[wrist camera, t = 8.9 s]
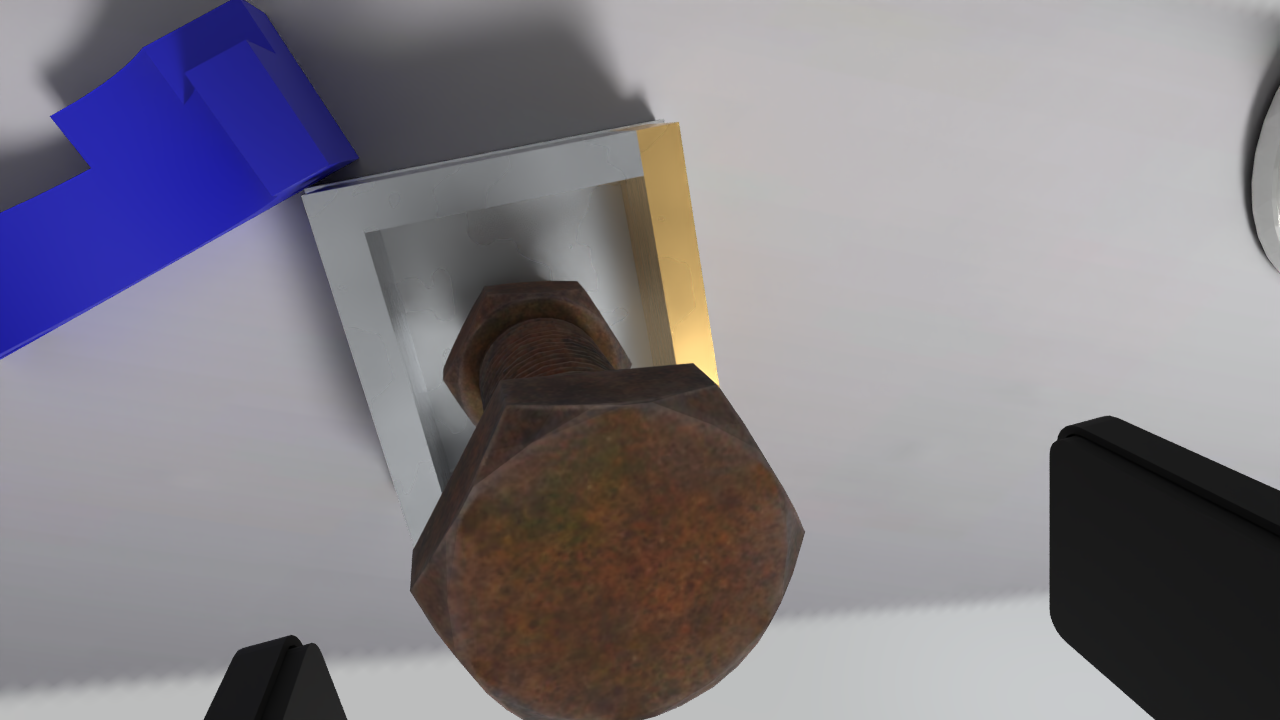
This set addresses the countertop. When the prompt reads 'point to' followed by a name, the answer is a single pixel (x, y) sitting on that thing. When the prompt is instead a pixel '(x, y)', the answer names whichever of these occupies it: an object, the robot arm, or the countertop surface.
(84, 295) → the cable clip
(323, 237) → the shallow open tray
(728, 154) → the countertop surface
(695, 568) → the bolt
